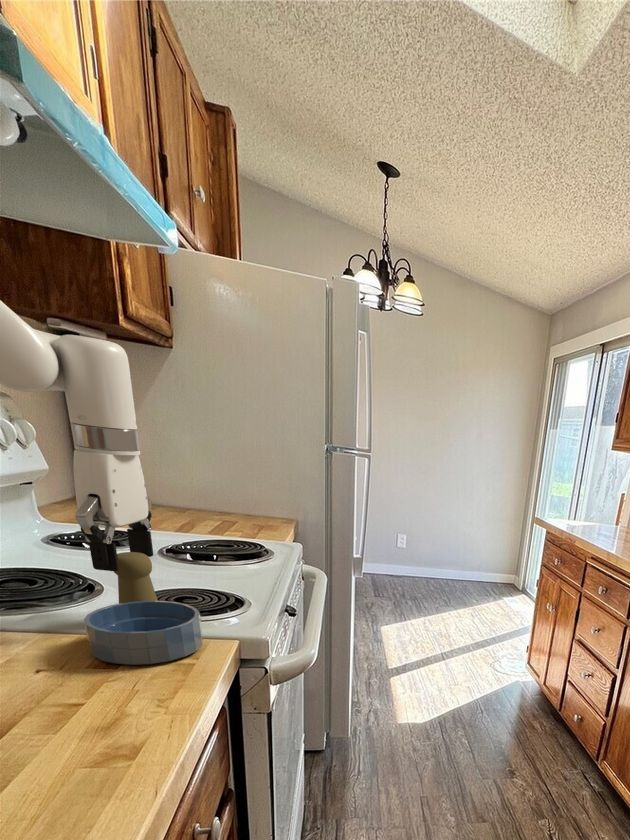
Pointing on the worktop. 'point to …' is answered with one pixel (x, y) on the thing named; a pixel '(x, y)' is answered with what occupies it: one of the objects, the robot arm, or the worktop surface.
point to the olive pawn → (134, 578)
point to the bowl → (144, 632)
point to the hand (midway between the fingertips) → (125, 562)
